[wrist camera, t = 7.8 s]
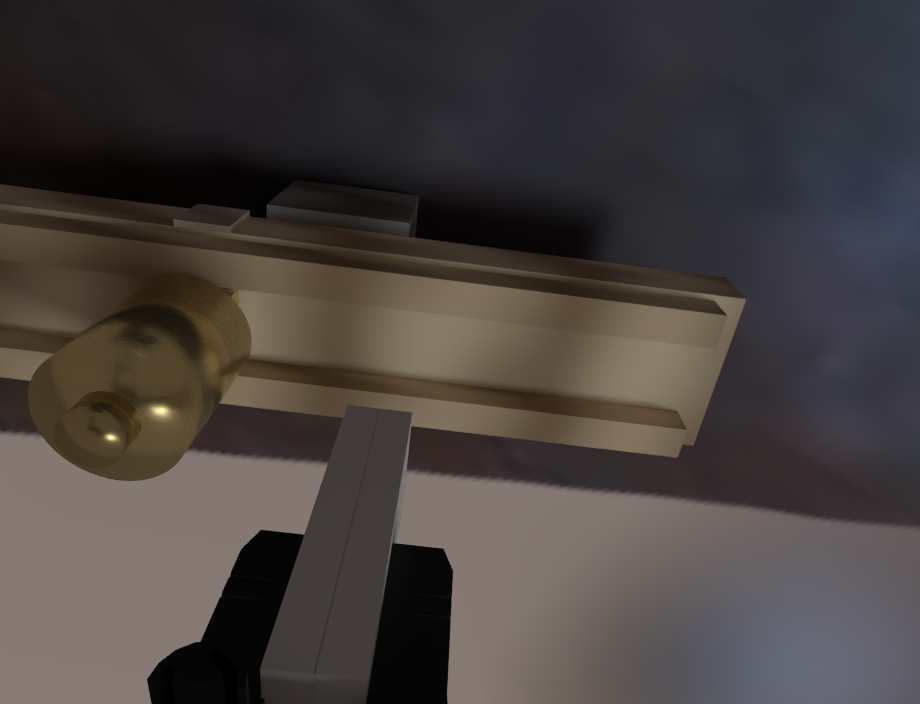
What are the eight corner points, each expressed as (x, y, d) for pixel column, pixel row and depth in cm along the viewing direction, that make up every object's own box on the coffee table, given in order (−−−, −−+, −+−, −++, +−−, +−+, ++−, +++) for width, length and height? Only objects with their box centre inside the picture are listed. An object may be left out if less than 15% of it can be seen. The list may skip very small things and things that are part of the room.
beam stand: (39, 302, 28) (-89, 383, 22) (7, 141, 25) (-154, 181, 19) (651, 377, 29) (699, 476, 23) (695, 232, 26) (766, 299, 20)
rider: (150, 361, 22) (19, 496, 16) (138, 254, 20) (-17, 357, 14) (264, 375, 22) (178, 514, 16) (261, 269, 21) (163, 379, 14)
